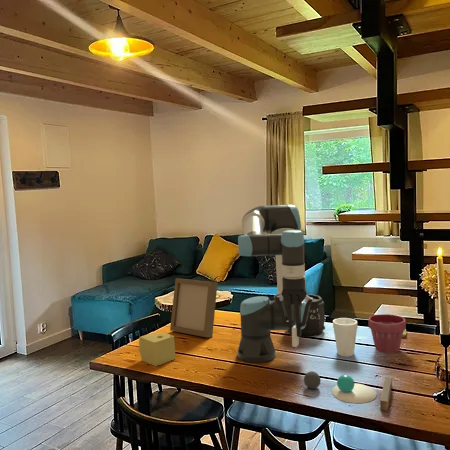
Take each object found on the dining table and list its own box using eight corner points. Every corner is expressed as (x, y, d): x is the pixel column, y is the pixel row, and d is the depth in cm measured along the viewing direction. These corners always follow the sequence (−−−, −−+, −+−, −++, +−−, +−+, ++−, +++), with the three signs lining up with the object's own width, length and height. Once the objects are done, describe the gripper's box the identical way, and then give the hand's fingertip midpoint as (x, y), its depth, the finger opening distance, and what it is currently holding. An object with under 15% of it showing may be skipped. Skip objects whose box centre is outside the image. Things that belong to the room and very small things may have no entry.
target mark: (328, 399, 147) (328, 398, 147) (335, 381, 160) (335, 380, 160) (374, 406, 142) (374, 405, 142) (378, 386, 155) (378, 386, 155)
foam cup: (358, 358, 180) (358, 325, 178) (334, 357, 182) (333, 324, 180) (356, 349, 189) (356, 318, 188) (333, 348, 191) (332, 317, 190)
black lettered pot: (296, 323, 227) (295, 291, 225) (330, 328, 216) (330, 295, 215) (277, 333, 212) (276, 300, 211) (314, 340, 202) (313, 304, 200)
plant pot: (370, 341, 197) (370, 312, 196) (406, 345, 191) (406, 314, 190) (367, 354, 184) (366, 322, 182) (405, 357, 178) (405, 325, 177)
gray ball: (315, 375, 152) (319, 391, 152) (320, 368, 156) (324, 383, 157) (299, 376, 154) (304, 392, 155) (304, 369, 159) (309, 384, 159)
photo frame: (206, 339, 208) (204, 284, 206) (170, 332, 221) (167, 280, 219) (225, 330, 220) (223, 278, 218) (189, 324, 233) (187, 274, 231)
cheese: (160, 353, 194) (159, 330, 193) (177, 359, 186) (175, 335, 185) (139, 361, 187) (138, 336, 186) (155, 367, 179) (154, 342, 178)
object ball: (339, 375, 150) (355, 384, 148) (342, 369, 155) (358, 377, 153) (333, 389, 151) (349, 398, 149) (336, 383, 156) (351, 391, 154)
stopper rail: (380, 410, 139) (380, 400, 139) (385, 385, 156) (385, 376, 155) (387, 411, 138) (387, 401, 138) (391, 385, 155) (391, 377, 155)
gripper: (271, 278, 154) (273, 347, 157) (310, 280, 149) (312, 351, 151) (278, 273, 161) (280, 339, 163) (315, 275, 156) (317, 343, 158)
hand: (295, 345), depth 157 cm, fingers closed
